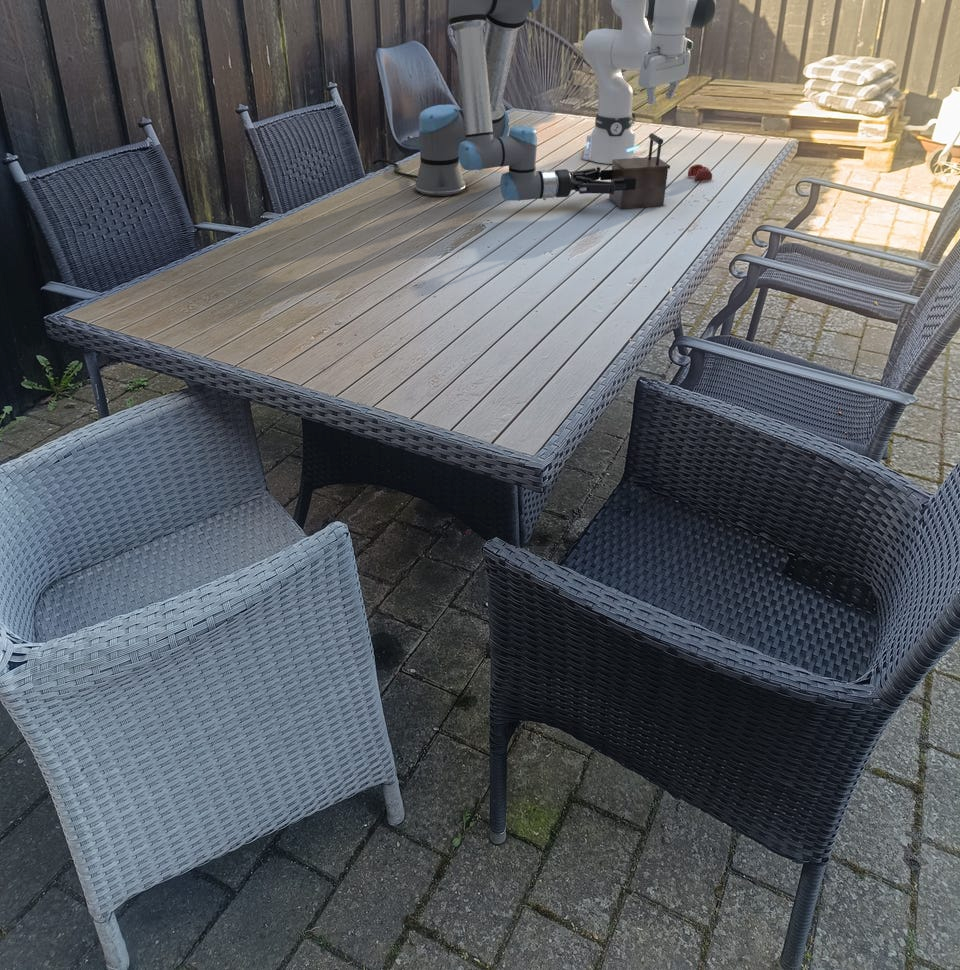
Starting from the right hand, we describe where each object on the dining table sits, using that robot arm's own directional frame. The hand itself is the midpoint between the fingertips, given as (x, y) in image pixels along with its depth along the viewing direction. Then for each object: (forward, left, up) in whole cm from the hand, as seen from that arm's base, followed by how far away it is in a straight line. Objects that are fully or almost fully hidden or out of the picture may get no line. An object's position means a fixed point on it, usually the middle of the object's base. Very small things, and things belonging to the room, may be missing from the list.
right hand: (660, 100), depth 233 cm
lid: (+1, -4, -17) cm, 17 cm away
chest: (+1, -4, -28) cm, 28 cm away
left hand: (+1, -7, -21) cm, 22 cm away
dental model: (-22, +20, -28) cm, 41 cm away
